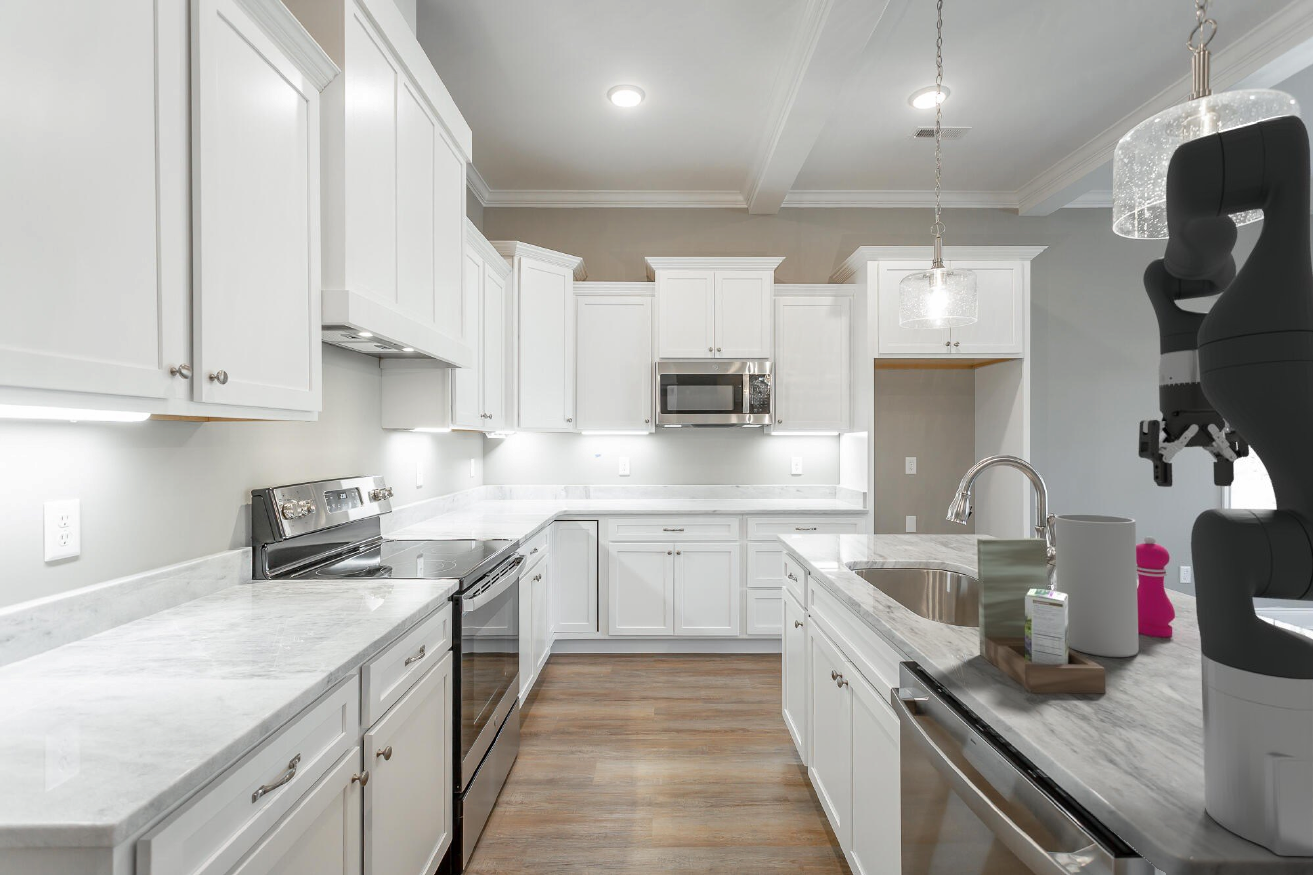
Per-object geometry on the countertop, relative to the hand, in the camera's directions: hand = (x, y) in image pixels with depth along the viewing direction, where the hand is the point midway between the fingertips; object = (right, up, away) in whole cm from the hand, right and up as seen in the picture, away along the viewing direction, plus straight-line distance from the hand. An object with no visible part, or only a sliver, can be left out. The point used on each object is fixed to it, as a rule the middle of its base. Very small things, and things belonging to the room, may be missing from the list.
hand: (1193, 486), depth 90 cm
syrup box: (-17, -34, +9) cm, 39 cm away
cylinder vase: (+3, -33, +23) cm, 41 cm away
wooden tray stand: (-17, -34, +12) cm, 39 cm away
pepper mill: (+20, -33, +31) cm, 49 cm away
